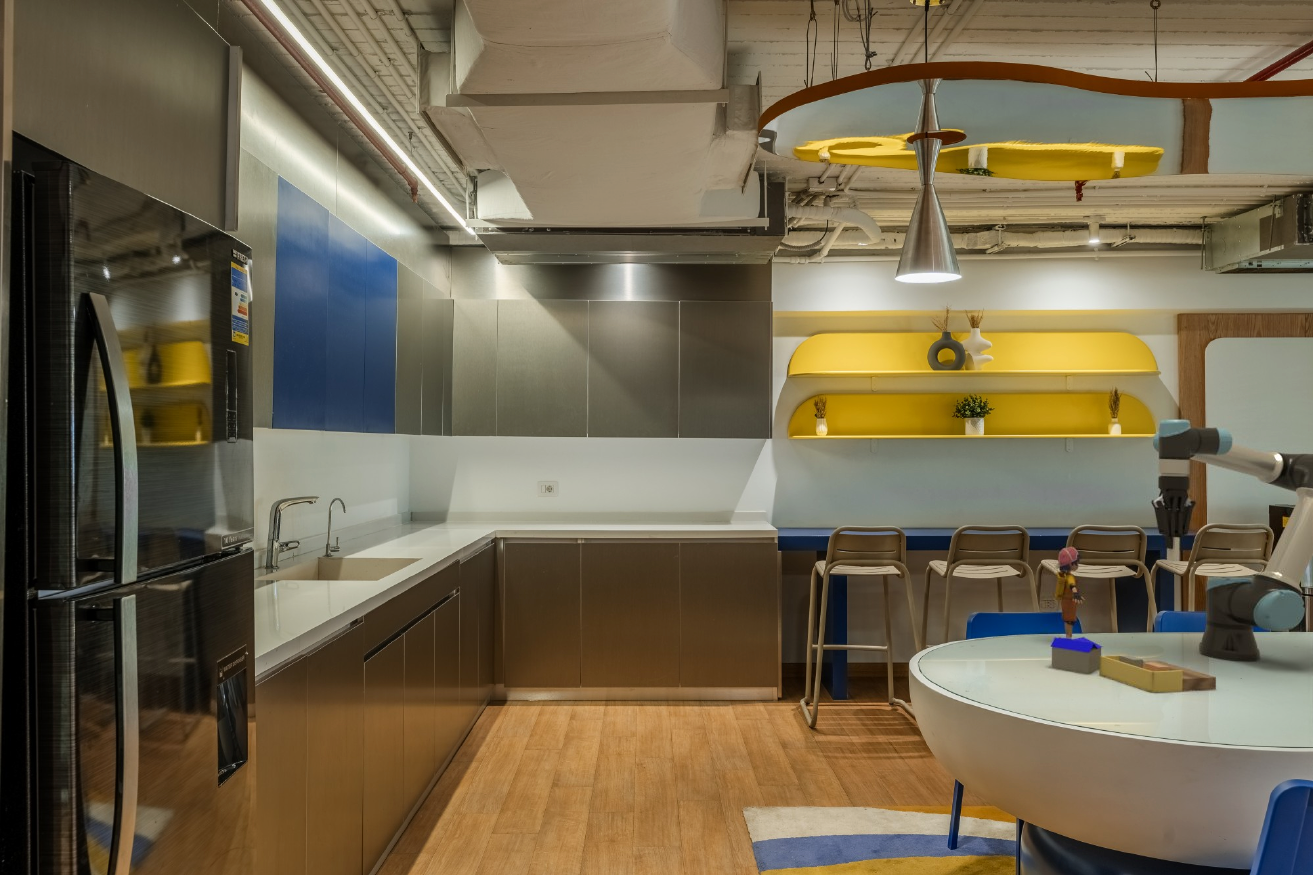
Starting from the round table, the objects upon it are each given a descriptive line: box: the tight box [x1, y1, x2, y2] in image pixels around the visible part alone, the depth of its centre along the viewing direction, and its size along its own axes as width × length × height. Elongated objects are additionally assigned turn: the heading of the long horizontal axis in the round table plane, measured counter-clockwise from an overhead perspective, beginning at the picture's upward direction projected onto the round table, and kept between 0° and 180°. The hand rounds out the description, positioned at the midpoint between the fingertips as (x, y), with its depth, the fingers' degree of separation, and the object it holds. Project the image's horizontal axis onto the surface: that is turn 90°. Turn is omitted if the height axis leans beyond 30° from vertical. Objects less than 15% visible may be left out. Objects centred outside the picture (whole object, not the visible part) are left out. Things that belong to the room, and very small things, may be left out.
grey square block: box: [1119, 654, 1144, 668], centre depth 234 cm, size 5×5×3 cm
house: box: [1050, 636, 1103, 675], centre depth 245 cm, size 10×11×8 cm
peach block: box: [1143, 661, 1169, 672], centre depth 226 cm, size 5×5×3 cm
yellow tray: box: [1098, 654, 1183, 694], centre depth 230 cm, size 9×18×5 cm, turn 14°
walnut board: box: [1143, 660, 1217, 692], centre depth 232 cm, size 10×18×3 cm, turn 14°
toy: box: [1053, 546, 1086, 639], centre depth 277 cm, size 24×7×30 cm, turn 168°
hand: (1173, 560), depth 249 cm, fingers closed
